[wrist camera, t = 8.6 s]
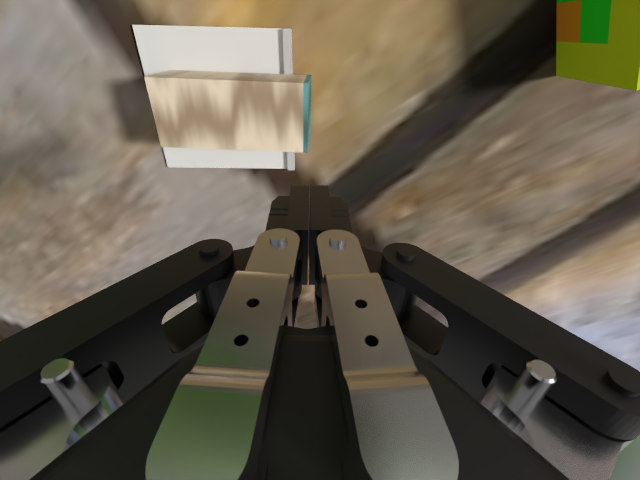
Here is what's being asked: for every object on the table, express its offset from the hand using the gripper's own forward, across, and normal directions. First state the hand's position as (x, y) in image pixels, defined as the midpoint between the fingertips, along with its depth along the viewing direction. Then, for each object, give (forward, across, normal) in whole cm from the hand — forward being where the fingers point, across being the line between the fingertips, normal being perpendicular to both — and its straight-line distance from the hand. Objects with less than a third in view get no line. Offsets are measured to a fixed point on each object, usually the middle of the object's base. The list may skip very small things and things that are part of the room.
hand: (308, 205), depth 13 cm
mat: (+25, +9, +1) cm, 27 cm away
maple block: (+21, 0, +1) cm, 21 cm away
